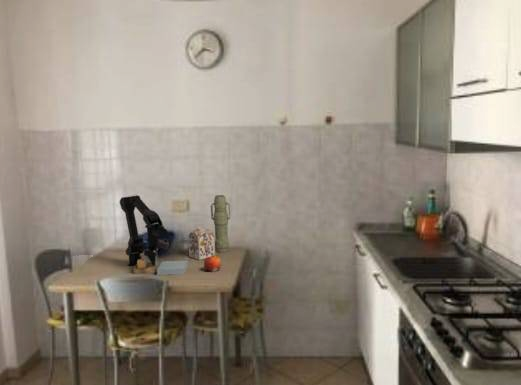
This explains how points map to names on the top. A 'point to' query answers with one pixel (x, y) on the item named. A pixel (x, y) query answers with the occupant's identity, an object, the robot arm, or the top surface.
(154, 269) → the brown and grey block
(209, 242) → the decorative jar
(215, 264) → the tomato
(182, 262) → the pale grey flat slab
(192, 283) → the top surface
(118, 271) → the top surface
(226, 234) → the green vase
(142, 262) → the orange cube
